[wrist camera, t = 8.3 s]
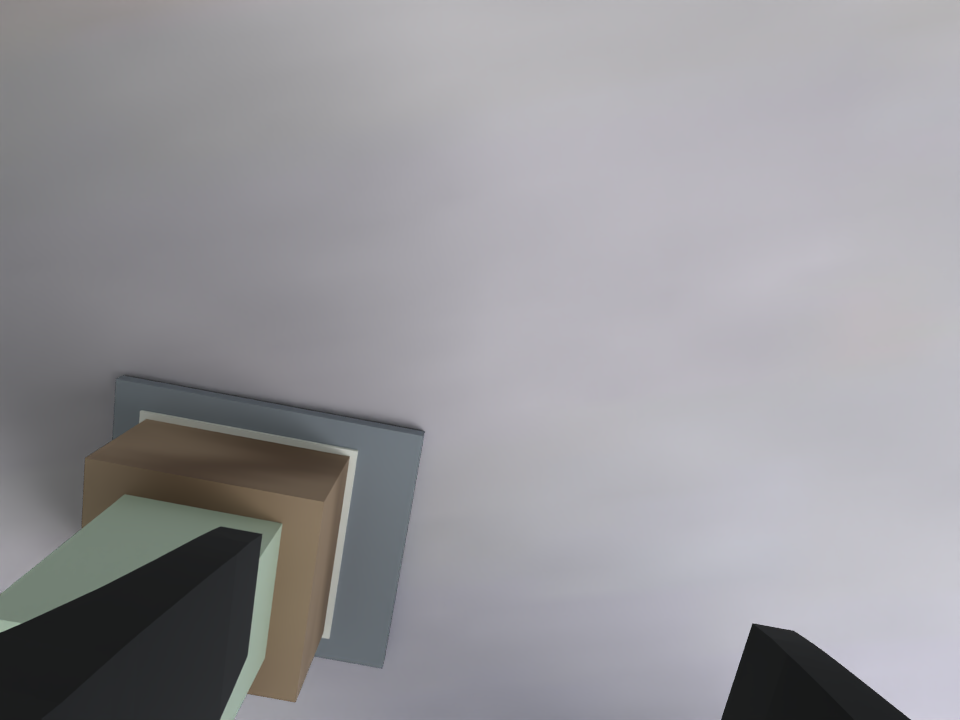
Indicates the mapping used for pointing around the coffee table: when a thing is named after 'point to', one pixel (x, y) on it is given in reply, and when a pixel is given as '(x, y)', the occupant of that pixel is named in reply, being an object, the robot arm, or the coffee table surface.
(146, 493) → the walnut block
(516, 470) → the coffee table surface
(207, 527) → the sage block
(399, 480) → the mat
